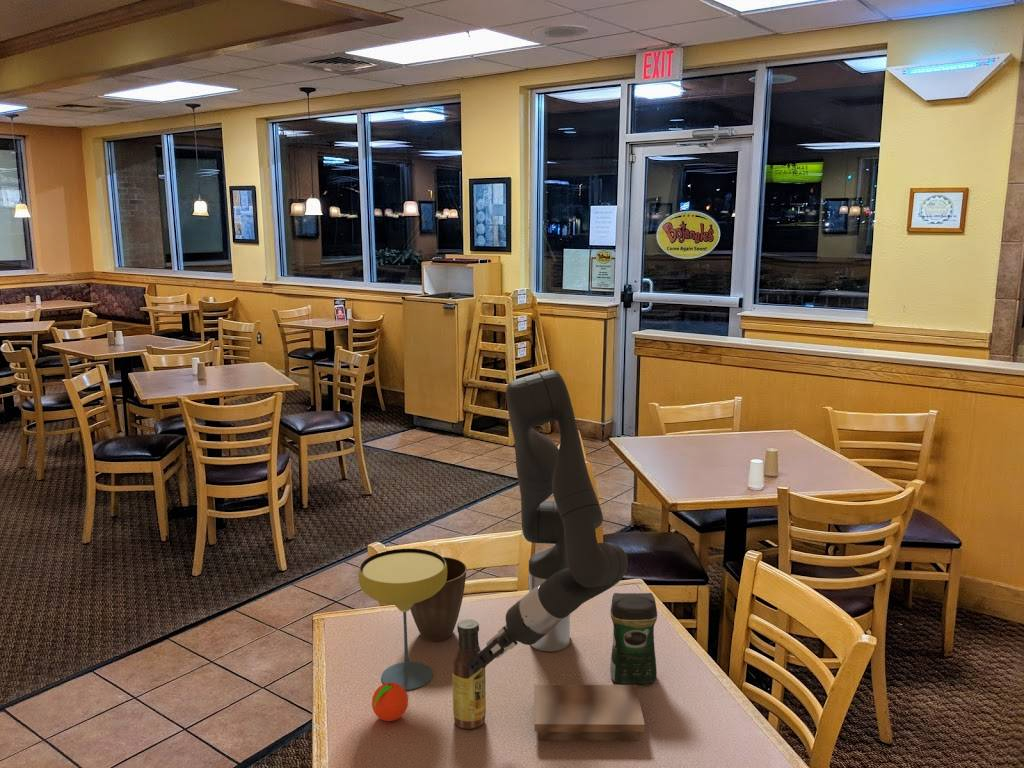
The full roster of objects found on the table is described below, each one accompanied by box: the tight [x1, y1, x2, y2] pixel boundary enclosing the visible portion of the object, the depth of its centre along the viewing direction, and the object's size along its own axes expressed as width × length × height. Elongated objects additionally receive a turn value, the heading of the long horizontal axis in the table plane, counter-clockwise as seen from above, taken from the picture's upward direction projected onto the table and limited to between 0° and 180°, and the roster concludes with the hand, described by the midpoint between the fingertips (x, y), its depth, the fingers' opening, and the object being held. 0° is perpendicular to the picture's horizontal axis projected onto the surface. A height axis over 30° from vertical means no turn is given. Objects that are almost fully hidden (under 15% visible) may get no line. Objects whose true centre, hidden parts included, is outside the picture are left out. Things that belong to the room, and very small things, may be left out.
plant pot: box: [409, 556, 468, 642], centre depth 187 cm, size 15×15×16 cm
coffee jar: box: [609, 592, 658, 687], centre depth 167 cm, size 10×8×19 cm
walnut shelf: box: [533, 684, 646, 742], centre depth 153 cm, size 20×13×4 cm, turn 89°
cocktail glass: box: [358, 548, 447, 691], centre depth 168 cm, size 18×18×25 cm
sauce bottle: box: [451, 619, 487, 730], centre depth 153 cm, size 6×6×20 cm
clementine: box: [371, 682, 409, 722], centre depth 155 cm, size 8×7×7 cm
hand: (482, 657), depth 151 cm, fingers open, 8 cm apart
